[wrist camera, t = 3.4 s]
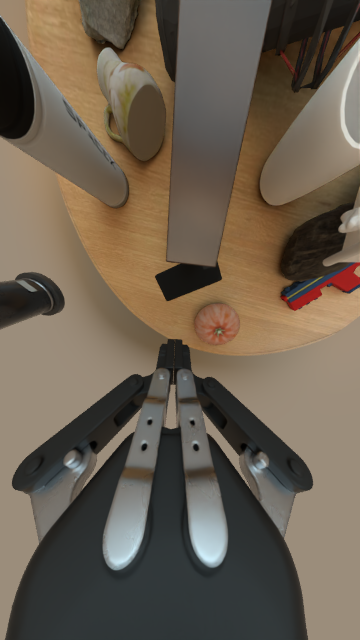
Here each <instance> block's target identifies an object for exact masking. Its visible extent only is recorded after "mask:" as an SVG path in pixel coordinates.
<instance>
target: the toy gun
mask: <svg viewBox="0 0 360 640" xmlns="http://www.w3.org/2000/svg"><path fill="white" fill-rule="evenodd" d="M359 265H360V262H351V263H350V264H349V265H348V266H346V267H345V268H343V269H341V270H339V271H336V272H334V273H331V274H328V275H326V276H323V277H320V278H315V279H309V280H307V281H298V282H295V283H293V285H292V286H290V287H286V288H284V289H285V290H284V291H283V292H281V293H282V295H283V296H281V298H282V300H283V301H285V302H287V303H288V305H289V307H290V308H291V309H292V310H294V311H296V310H297V309H301V308H302V306H304V305H307V304H309V303H310V302H311V301H313V300H316V299H318V297H320V296H321V295H322V293H321V291H320V289H321V288H323V287H325V286H326V285H327V287H330V286H331V285H333V286H335V287H337V288H338V289H340V290H343V291H342V292H345V293H351V292H353V291H354V290H356V289H357V288H359V287H360V278H359V277H358V276H357V275H355V274H354V273H353V272H354V271H355V269H356V268H357V267H358V266H359Z"/></svg>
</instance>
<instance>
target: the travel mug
mask: <svg viewBox="0 0 360 640" xmlns="http://www.w3.org/2000/svg"><path fill="white" fill-rule="evenodd" d="M0 137H2V138H3V139H5V140H6V141H8V142H9V143H11V144H13V145H14V146H16V147H17V148H19V149H20V150H22V151H24V152H25V153H27V154H28V155H30V156H31V157H33V158H35V159H36V160H38V161H39V162H41V163H42V164H44V165H46V166H47V167H49V168H50V169H52V170H53V171H55V172H57V173H58V174H60V175H61V176H63V177H64V178H66V179H68V180H69V181H71V182H72V183H74V184H75V185H77V186H79V187H80V188H82V189H83V190H85V191H86V192H88V193H90V194H91V195H93V196H94V197H96V198H97V199H99V200H100V201H102V202H104V203H105V204H107V205H108V206H110V207H113V208H119V207H121V206H123V205H124V204H125V202H126V201H127V198H128V193H129V187H128V182H127V179H126V176H125V174H124V173H123V171H122V170H121V169H120V167H119V166H118V165H117V164H116V162H115V161H114V160H113V158H112V157H111V156H110V155H109V153H108V152H107V151H106V150H105V148H104V147H103V146H102V144H101V143H100V142H99V141H98V139H97V138H96V137H95V135H94V134H93V133H92V132H91V130H90V129H89V128H88V127H87V125H86V124H85V123H84V121H83V120H82V119H81V118H80V116H79V115H78V114H77V112H76V111H75V110H74V109H73V107H72V106H71V105H70V104H69V102H68V101H67V100H66V98H65V97H64V96H63V95H62V93H61V92H60V91H59V89H58V88H57V87H56V86H55V84H54V83H53V82H52V81H51V79H50V78H49V77H48V75H47V74H46V73H45V72H44V70H43V69H42V68H41V66H40V65H39V64H38V63H37V61H36V60H35V59H34V58H33V56H32V55H31V54H30V52H29V51H28V50H27V49H26V47H25V46H24V45H23V44H22V42H21V41H20V40H19V38H18V37H17V36H16V35H15V34H14V33H13V31H12V30H11V28H10V27H9V26H8V24H7V23H6V22H5V21H4V19H3V18H2V17H1V15H0Z"/></svg>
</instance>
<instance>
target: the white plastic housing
mask: <svg viewBox="0 0 360 640" xmlns="http://www.w3.org/2000/svg"><path fill="white" fill-rule="evenodd" d="M340 219H341V221H342V223H343V224H341V225H340V227H339V229H338V230H339V232H341V233H347V234H346V238H345V241H344V245H343V249H342V251H340V252H338V253H336V254H334V255H332V256H330V257H328V258H326V259H324V260H323V265H324V266H331V265H333V264H335V263H338V262H360V186H359V189H358V193H357V197H356V201H355V204H354V208H353V209H352V210H349V211H347V212H345V213H344V214H343V215H342V216H341V218H340Z"/></svg>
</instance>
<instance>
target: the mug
mask: <svg viewBox="0 0 360 640" xmlns="http://www.w3.org/2000/svg"><path fill="white" fill-rule="evenodd" d="M97 75H98V81H99V85H100V88H101V91H102V93H103V95H104V96H105V97H106V99H107V100H108V106H106V107H105V110H104V124H105V128H106V131H107V133H108V135H109V136H110V137H111V138H112V139H113V140H115V141H118V142H121V143H123V144H124V145H125V146H126V147H127V148H128V149H129V151H130V152H131V153H132V154H133V155H134V156H135V157H136V158H138V159H139V160H142V161H147V160H149V159H150V158H151V157H153V156H154V155H155V154H156V153H157V152H158V150H159V148H160V146H161V144H162V140H163V137H164V132H165V121H166V109H165V104H164V100H163V97H162V94H161V91H160V89H159V88H158V86H157V84H156V82H155V81H154V79H153V78H152V76H151V75H150V74H149V73H148V72H147V71H146V70H145V69H144V68H143V67H141V66H139V65H137V64H132V63H124V62H122V61H121V60H120V59H119V57H118V56H117V54H116V53H115V52H114V51H113V50H112V49H111V48H105V49H104V50H102V52H101V53H100V55H99V58H98V62H97ZM110 113H113V115H114V118H115V121H116V125H117V128H118V131H119V133H120V135H116V134H114V133H112V131H111V129H110V126H109V119H110Z"/></svg>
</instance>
